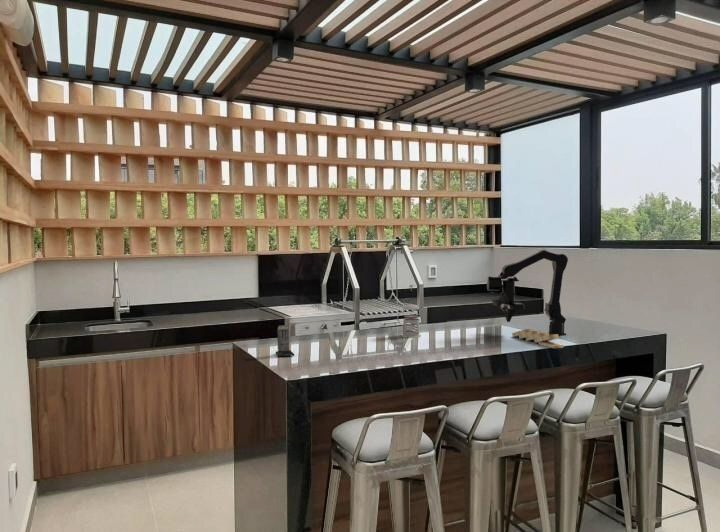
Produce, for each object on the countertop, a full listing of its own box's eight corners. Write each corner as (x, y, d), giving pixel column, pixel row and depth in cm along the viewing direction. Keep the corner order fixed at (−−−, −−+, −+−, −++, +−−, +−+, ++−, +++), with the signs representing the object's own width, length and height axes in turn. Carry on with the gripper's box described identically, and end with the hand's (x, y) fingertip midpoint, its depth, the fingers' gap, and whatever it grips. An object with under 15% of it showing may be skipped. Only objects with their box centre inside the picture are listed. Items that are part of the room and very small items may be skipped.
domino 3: (534, 336, 258) (548, 332, 249) (535, 340, 257) (549, 336, 248) (525, 337, 256) (539, 333, 247) (526, 340, 255) (540, 337, 246)
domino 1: (520, 332, 268) (533, 328, 259) (521, 336, 267) (534, 332, 258) (512, 333, 266) (524, 329, 257) (512, 336, 265) (525, 333, 256)
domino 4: (542, 338, 252) (557, 334, 243) (543, 341, 251) (558, 338, 242) (534, 338, 250) (549, 334, 241) (534, 342, 249) (549, 338, 240)
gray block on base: (272, 354, 228) (271, 324, 227) (290, 352, 231) (289, 323, 231) (279, 358, 219) (279, 328, 219) (298, 356, 223) (297, 326, 222)
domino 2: (527, 334, 262) (540, 330, 253) (527, 338, 262) (541, 334, 253) (518, 335, 260) (531, 331, 251) (519, 339, 260) (532, 334, 251)
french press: (422, 337, 264) (422, 285, 262) (397, 337, 264) (397, 285, 263) (420, 334, 274) (420, 283, 272) (396, 334, 274) (397, 283, 273)
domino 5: (547, 340, 249) (563, 344, 240) (547, 344, 249) (563, 348, 240) (538, 341, 247) (554, 345, 238) (538, 345, 247) (554, 349, 238)
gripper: (484, 289, 278) (483, 320, 279) (505, 292, 261) (505, 325, 262) (503, 288, 282) (502, 319, 283) (525, 292, 264) (525, 324, 265)
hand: (508, 321), depth 273 cm, fingers closed
